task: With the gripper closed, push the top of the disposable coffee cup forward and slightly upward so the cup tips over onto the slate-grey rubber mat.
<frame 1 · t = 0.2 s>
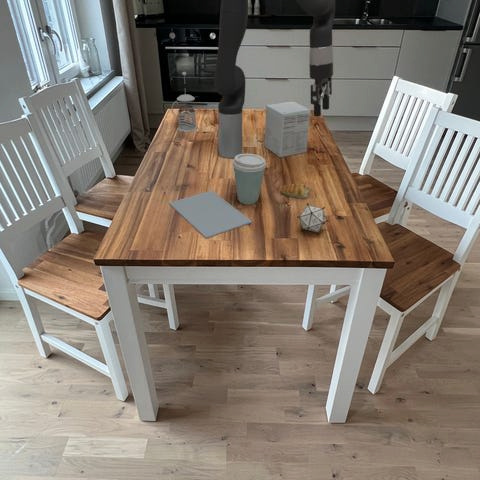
hand: (321, 112, 141), 22 cm above the table, tool pointing down, fingers open, 8 cm apart
disposable coffee cup: (248, 200, 136), on the table
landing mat: (209, 212, 129), on the table
game die: (311, 231, 121), on the table
french press: (185, 128, 193), on the table
pastry: (295, 195, 140), on the table
supplement box: (285, 149, 173), on the table
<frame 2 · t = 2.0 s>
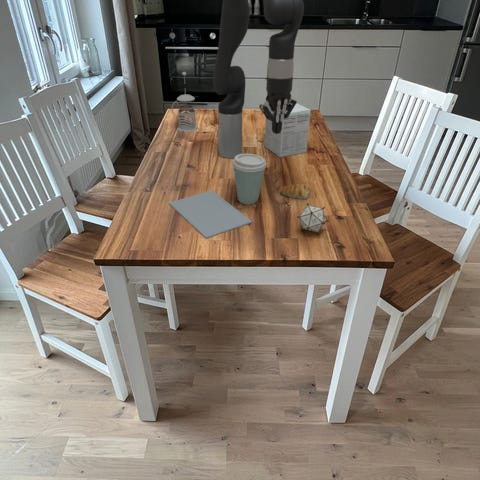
hand: (276, 132, 129), 21 cm above the table, tool pointing down, fingers closed
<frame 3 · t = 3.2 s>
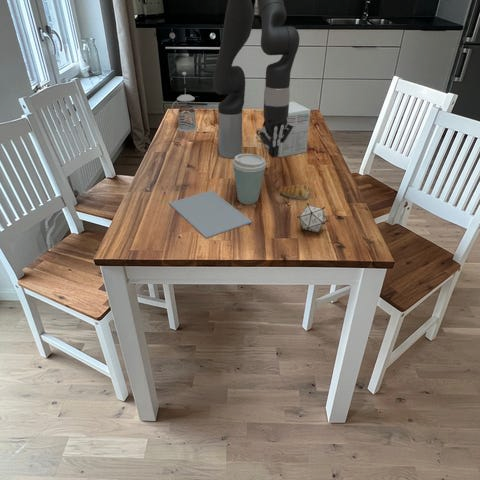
hand: (273, 156, 133), 13 cm above the table, tool pointing down, fingers closed
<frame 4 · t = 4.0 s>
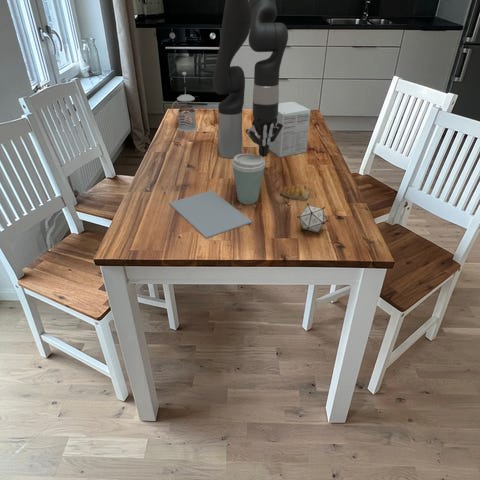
hand: (263, 155, 130), 14 cm above the table, tool pointing down, fingers closed
disposable coffee cup: (248, 200, 136), on the table, touching gripper
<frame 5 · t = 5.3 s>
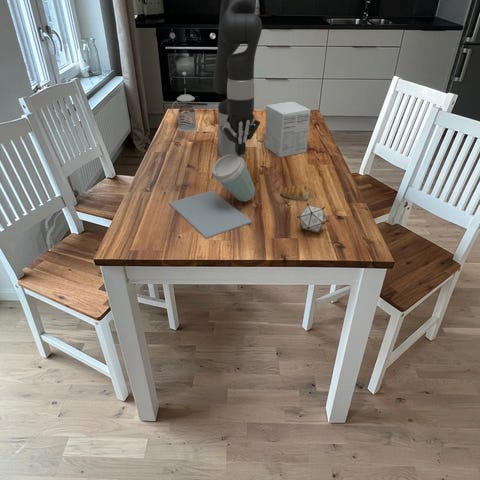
hand: (240, 154, 125), 17 cm above the table, tool pointing down, fingers closed
disposable coffee cup: (247, 194, 134), point 2 cm above the table, touching gripper
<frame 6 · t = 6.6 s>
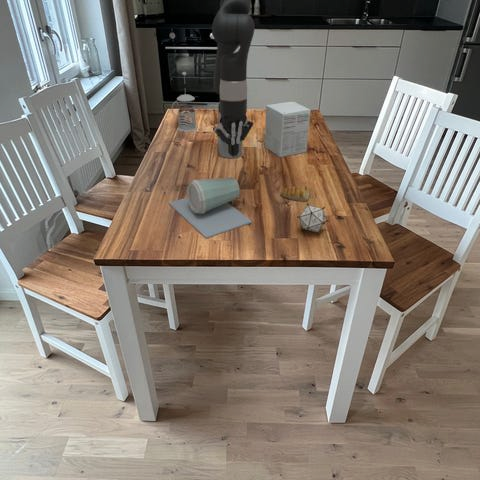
hand: (233, 155, 124), 17 cm above the table, tool pointing down, fingers closed
disposable coffee cup: (236, 187, 131), point 6 cm above the table, touching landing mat
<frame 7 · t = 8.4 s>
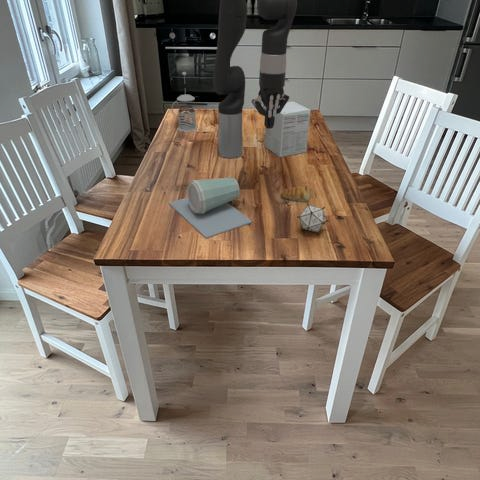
hand: (268, 127, 130), 22 cm above the table, tool pointing down, fingers closed
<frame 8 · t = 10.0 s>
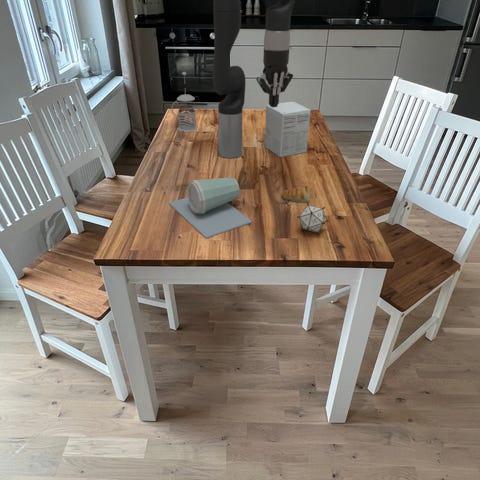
hand: (273, 106, 131), 27 cm above the table, tool pointing down, fingers closed
at the end: disposable coffee cup tilted 90°; disposable coffee cup inside the target area (6.6 cm from its centre), point 5.7 cm above the table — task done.
